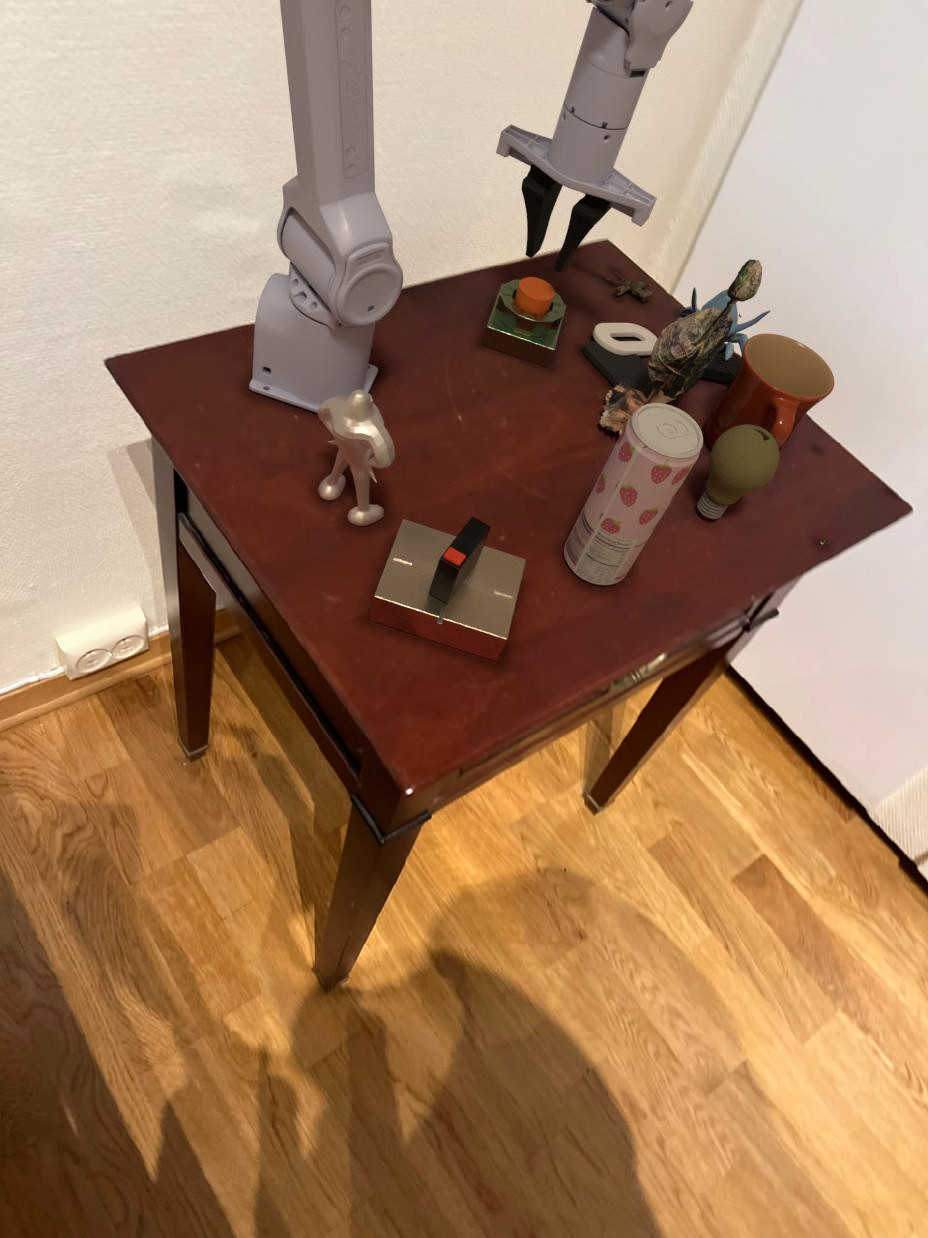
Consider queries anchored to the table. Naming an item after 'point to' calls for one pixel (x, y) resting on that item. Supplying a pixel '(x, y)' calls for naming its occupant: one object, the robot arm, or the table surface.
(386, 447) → the figurine
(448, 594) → the knob
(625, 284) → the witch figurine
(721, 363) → the figurine
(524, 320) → the button block
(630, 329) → the chain link
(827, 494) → the table surface
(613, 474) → the beverage can
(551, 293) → the button
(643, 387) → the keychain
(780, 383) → the mug
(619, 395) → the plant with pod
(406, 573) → the panel
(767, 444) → the light bulb
